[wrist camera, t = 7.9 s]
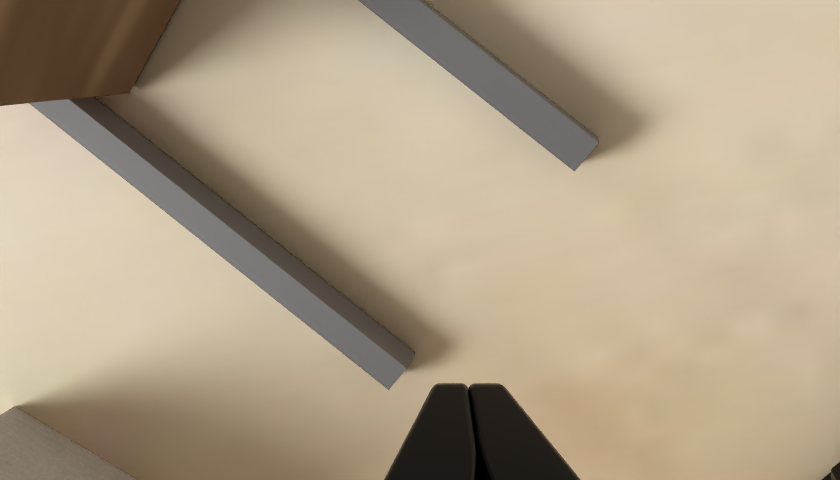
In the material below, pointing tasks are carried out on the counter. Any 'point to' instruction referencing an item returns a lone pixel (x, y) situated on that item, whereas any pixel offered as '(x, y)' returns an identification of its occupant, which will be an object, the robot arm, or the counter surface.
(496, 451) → the robot arm
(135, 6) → the brown wooden tall block
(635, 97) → the counter surface
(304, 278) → the twin grey rails
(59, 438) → the tea bag
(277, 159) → the counter surface
